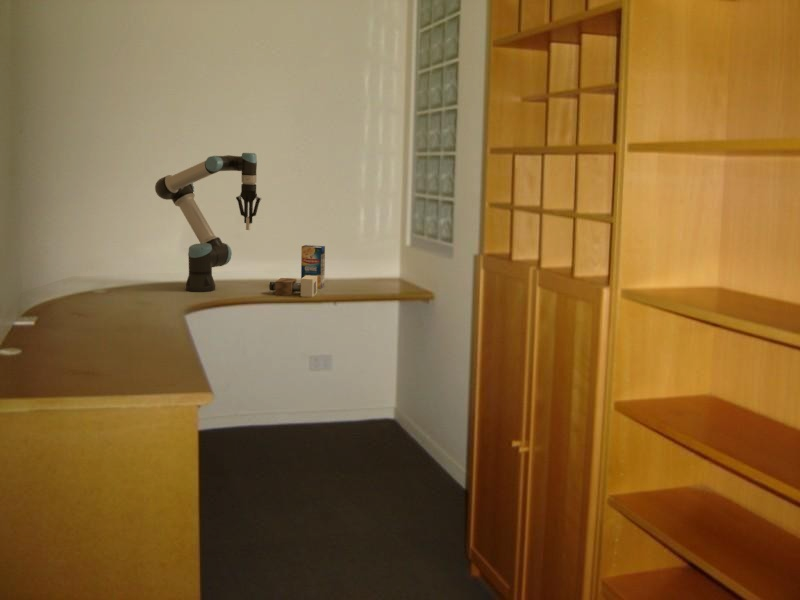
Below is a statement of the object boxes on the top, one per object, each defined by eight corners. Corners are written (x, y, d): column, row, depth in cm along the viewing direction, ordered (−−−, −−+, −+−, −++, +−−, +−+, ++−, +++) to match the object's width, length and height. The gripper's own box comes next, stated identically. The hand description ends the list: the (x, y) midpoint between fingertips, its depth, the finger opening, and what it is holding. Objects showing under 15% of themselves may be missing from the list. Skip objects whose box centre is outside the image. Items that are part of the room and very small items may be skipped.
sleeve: (275, 295, 461) (275, 281, 460) (281, 291, 473) (281, 278, 472) (290, 295, 461) (291, 282, 459) (296, 292, 472) (296, 278, 471)
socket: (300, 296, 460) (300, 278, 458) (305, 292, 472) (305, 275, 470) (312, 297, 459) (312, 279, 458) (317, 293, 471) (317, 275, 470)
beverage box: (320, 288, 485) (321, 247, 481) (300, 287, 487) (301, 246, 483) (324, 286, 491) (325, 246, 488) (305, 285, 494) (305, 245, 490)
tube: (269, 291, 465) (269, 282, 464) (271, 289, 470) (271, 281, 469) (311, 293, 463) (311, 284, 462) (313, 291, 467) (313, 283, 467)
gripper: (234, 183, 462) (233, 229, 466) (259, 184, 460) (258, 231, 464) (238, 182, 469) (238, 228, 473) (263, 183, 467) (262, 229, 472)
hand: (248, 229), depth 469 cm, fingers closed
